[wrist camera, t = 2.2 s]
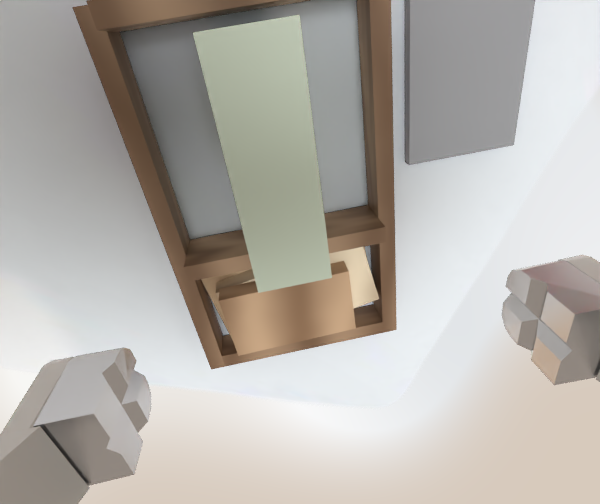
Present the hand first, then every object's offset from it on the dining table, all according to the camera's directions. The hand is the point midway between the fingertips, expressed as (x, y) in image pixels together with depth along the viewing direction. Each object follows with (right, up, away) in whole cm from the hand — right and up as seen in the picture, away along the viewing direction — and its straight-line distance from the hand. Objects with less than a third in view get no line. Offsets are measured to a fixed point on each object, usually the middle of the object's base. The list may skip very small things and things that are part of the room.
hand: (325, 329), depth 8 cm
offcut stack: (-1, -1, +24) cm, 24 cm away
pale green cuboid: (-3, +10, +17) cm, 20 cm away
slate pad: (+10, +16, +16) cm, 25 cm away
